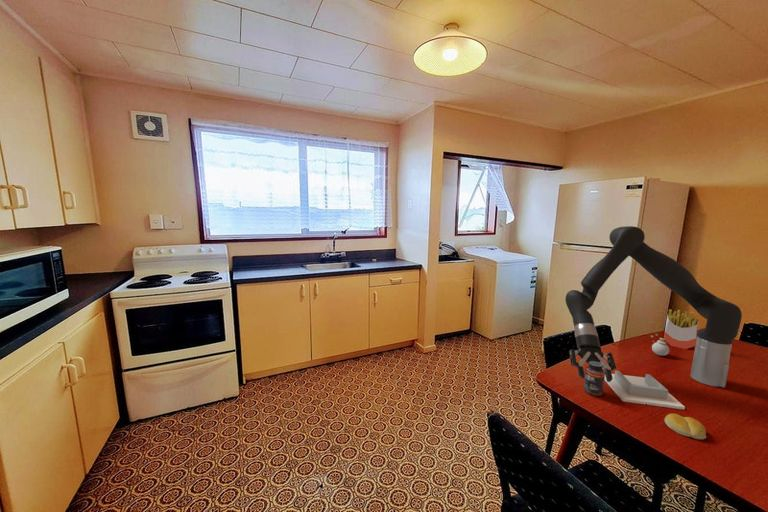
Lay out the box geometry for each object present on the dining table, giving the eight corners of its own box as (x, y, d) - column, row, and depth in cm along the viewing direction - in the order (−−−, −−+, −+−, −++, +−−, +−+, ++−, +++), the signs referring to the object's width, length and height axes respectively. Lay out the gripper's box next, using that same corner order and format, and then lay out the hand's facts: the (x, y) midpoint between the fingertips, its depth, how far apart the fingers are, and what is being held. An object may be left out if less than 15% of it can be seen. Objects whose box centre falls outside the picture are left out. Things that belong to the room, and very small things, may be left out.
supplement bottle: (599, 389, 113) (602, 361, 111) (605, 398, 107) (609, 369, 105) (581, 385, 115) (584, 358, 113) (586, 394, 109) (589, 366, 107)
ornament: (667, 359, 135) (670, 338, 134) (646, 353, 141) (648, 333, 139) (669, 355, 139) (672, 335, 138) (648, 349, 145) (651, 330, 143)
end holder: (599, 374, 122) (601, 364, 122) (651, 380, 118) (653, 370, 117) (622, 401, 105) (624, 389, 105) (684, 409, 101) (686, 397, 100)
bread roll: (661, 417, 98) (663, 405, 97) (699, 427, 93) (701, 416, 92) (668, 432, 91) (669, 420, 90) (709, 444, 86) (712, 432, 85)
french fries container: (694, 351, 143) (700, 315, 141) (663, 344, 151) (668, 310, 148) (693, 347, 147) (699, 312, 144) (663, 341, 154) (668, 308, 151)
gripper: (569, 331, 117) (577, 374, 107) (611, 335, 113) (623, 379, 104) (563, 338, 123) (571, 379, 113) (603, 342, 119) (614, 385, 110)
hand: (596, 379), depth 109 cm, fingers open, 8 cm apart
